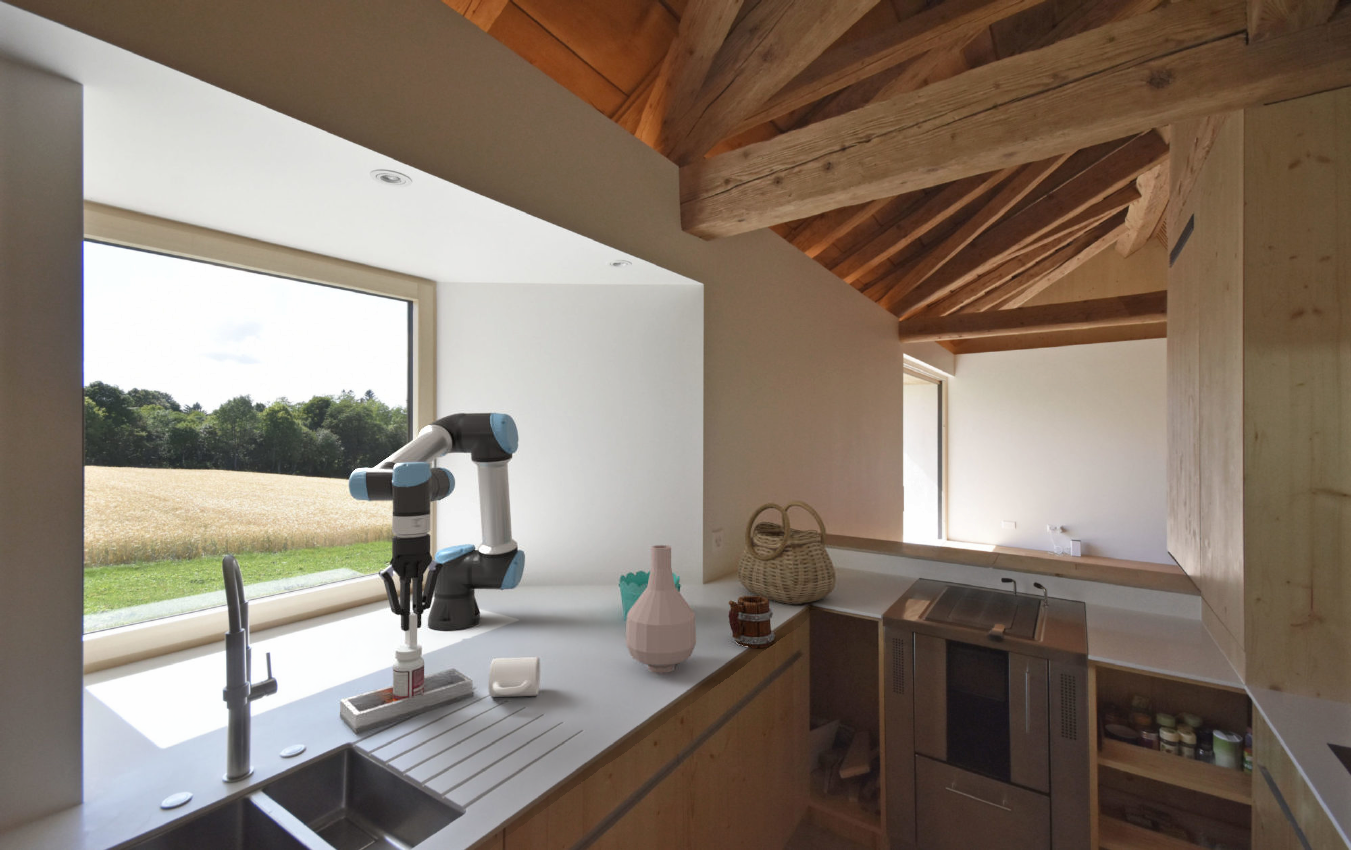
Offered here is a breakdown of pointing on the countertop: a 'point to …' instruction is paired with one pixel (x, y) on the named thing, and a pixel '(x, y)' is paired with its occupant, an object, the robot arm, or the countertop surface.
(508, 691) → the mug
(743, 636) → the mug
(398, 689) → the pill bottle
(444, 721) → the countertop surface
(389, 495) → the robot arm
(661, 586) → the vase
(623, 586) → the bucket
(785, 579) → the basket
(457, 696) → the tray
